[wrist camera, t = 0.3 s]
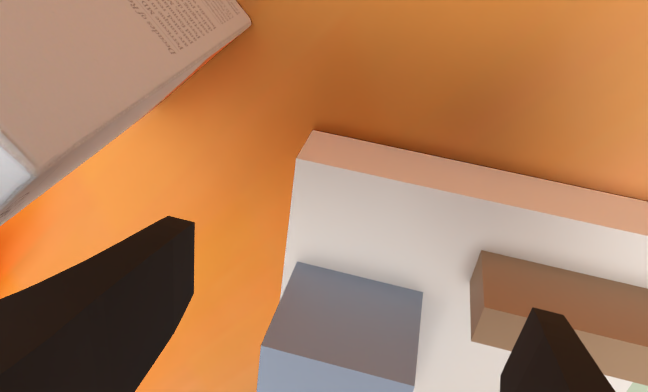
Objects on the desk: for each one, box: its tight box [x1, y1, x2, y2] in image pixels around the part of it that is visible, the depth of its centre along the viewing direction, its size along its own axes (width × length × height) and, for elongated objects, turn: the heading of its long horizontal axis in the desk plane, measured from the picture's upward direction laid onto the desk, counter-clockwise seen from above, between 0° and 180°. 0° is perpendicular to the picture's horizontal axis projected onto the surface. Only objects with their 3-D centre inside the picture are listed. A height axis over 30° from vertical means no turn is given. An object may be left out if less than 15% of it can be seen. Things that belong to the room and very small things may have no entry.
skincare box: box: [0, 0, 251, 226], centre depth 15 cm, size 6×4×12 cm
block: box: [257, 261, 423, 392], centre depth 20 cm, size 5×5×4 cm
